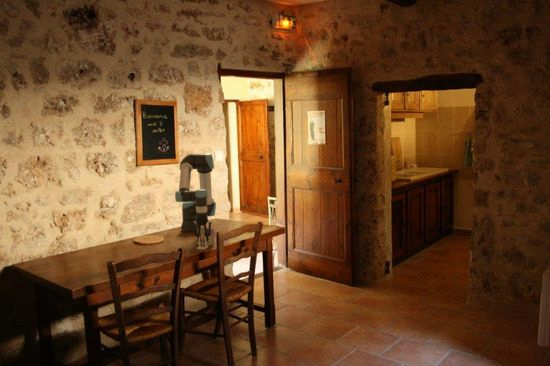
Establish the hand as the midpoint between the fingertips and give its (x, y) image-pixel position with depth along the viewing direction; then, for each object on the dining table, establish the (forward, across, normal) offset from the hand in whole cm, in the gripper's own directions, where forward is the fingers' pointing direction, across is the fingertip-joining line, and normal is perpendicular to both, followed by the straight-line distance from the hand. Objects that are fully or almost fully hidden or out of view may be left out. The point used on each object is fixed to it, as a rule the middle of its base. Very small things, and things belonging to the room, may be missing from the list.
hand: (203, 245), depth 348 cm
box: (+1, 0, +8) cm, 9 cm away
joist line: (+1, 0, +7) cm, 7 cm away
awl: (0, 0, 0) cm, 0 cm away
